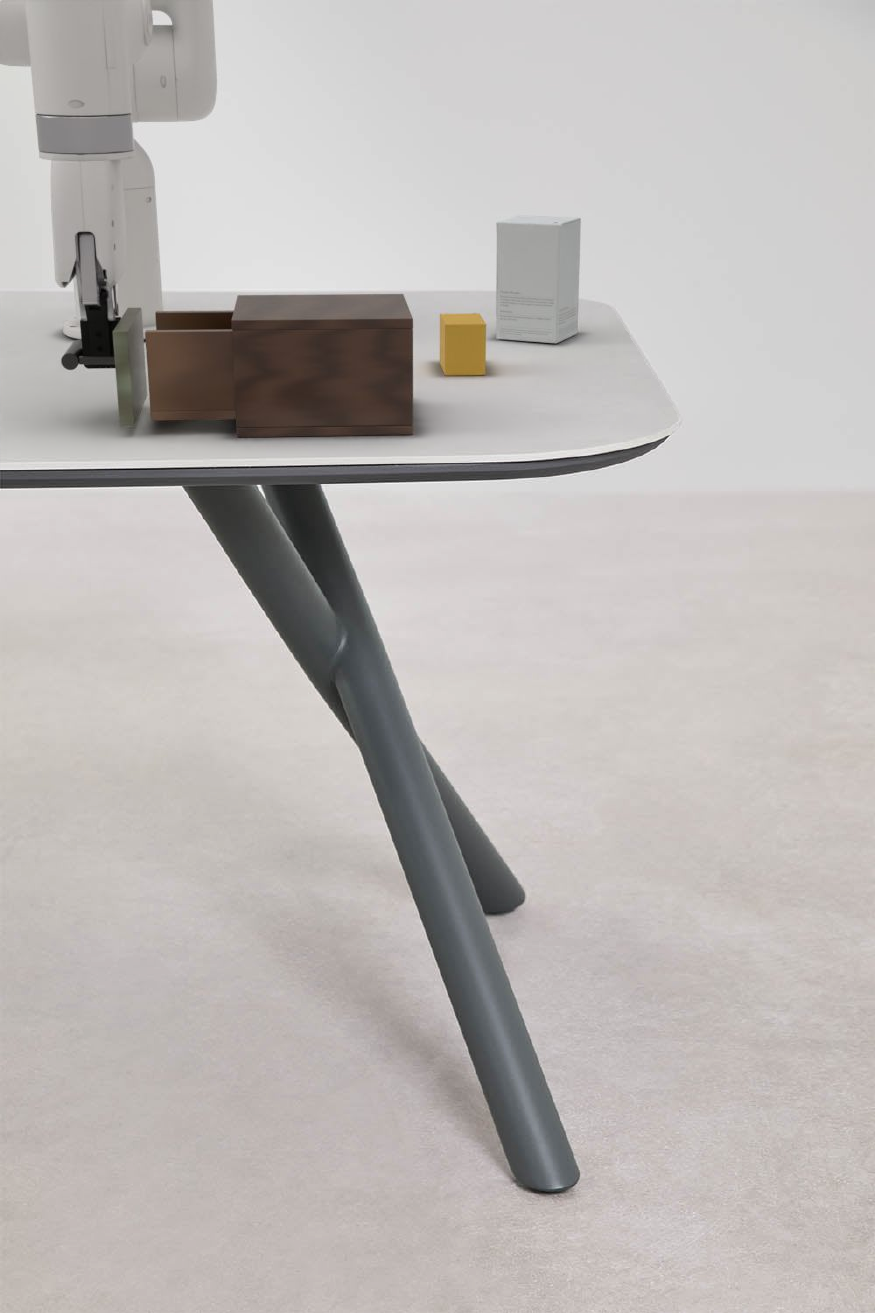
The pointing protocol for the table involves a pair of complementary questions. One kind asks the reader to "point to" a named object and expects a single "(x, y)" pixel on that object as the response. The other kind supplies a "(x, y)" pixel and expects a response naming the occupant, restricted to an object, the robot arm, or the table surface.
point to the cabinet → (323, 365)
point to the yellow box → (462, 344)
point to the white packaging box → (537, 278)
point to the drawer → (170, 365)
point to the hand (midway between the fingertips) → (104, 365)
